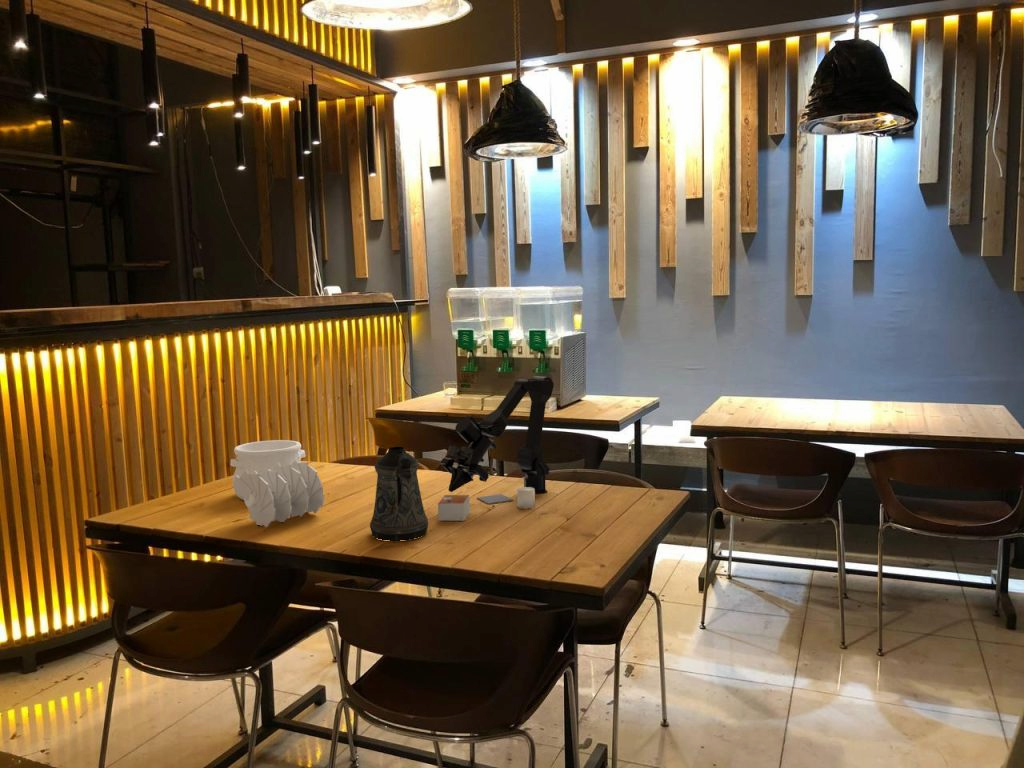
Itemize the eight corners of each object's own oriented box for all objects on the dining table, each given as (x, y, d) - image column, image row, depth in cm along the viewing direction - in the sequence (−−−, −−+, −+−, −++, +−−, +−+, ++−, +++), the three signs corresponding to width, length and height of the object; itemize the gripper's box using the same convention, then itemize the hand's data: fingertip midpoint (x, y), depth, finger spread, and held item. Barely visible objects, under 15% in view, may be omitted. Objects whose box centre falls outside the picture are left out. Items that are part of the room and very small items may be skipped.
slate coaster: (501, 495, 278) (501, 494, 278) (513, 500, 270) (513, 499, 270) (477, 498, 274) (477, 497, 274) (488, 504, 266) (488, 503, 266)
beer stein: (401, 522, 248) (397, 440, 245) (448, 533, 235) (445, 446, 233) (358, 536, 235) (354, 449, 232) (405, 548, 223) (401, 456, 220)
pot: (292, 483, 305) (289, 436, 303) (320, 495, 285) (318, 445, 283) (221, 495, 289) (218, 445, 287) (246, 508, 270) (243, 455, 268)
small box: (469, 494, 257) (464, 503, 247) (470, 512, 258) (464, 521, 247) (444, 494, 258) (437, 502, 248) (444, 512, 259) (438, 521, 248)
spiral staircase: (324, 525, 261) (258, 541, 241) (291, 495, 270) (224, 509, 250) (341, 476, 256) (274, 489, 235) (306, 447, 264) (239, 457, 244)
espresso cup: (530, 502, 268) (529, 485, 268) (537, 507, 261) (536, 490, 260) (513, 503, 267) (513, 486, 266) (520, 509, 259) (519, 491, 259)
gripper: (443, 432, 267) (416, 471, 261) (480, 439, 253) (452, 480, 247) (463, 453, 273) (437, 491, 267) (500, 460, 259) (474, 501, 253)
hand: (449, 491), depth 258 cm, fingers closed
